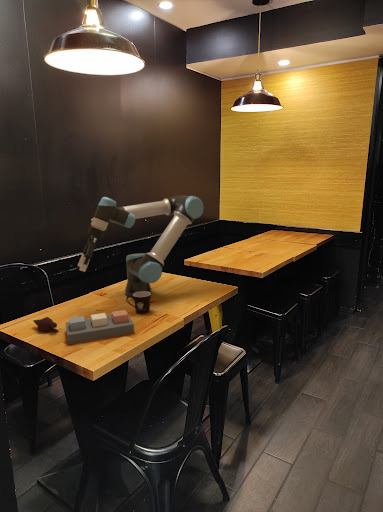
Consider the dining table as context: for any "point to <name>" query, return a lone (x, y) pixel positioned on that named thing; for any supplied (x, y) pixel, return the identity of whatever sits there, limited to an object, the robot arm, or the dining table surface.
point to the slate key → (77, 323)
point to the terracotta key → (119, 316)
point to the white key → (98, 320)
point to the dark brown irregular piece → (46, 325)
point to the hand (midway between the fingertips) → (81, 268)
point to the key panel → (99, 331)
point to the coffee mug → (141, 302)
